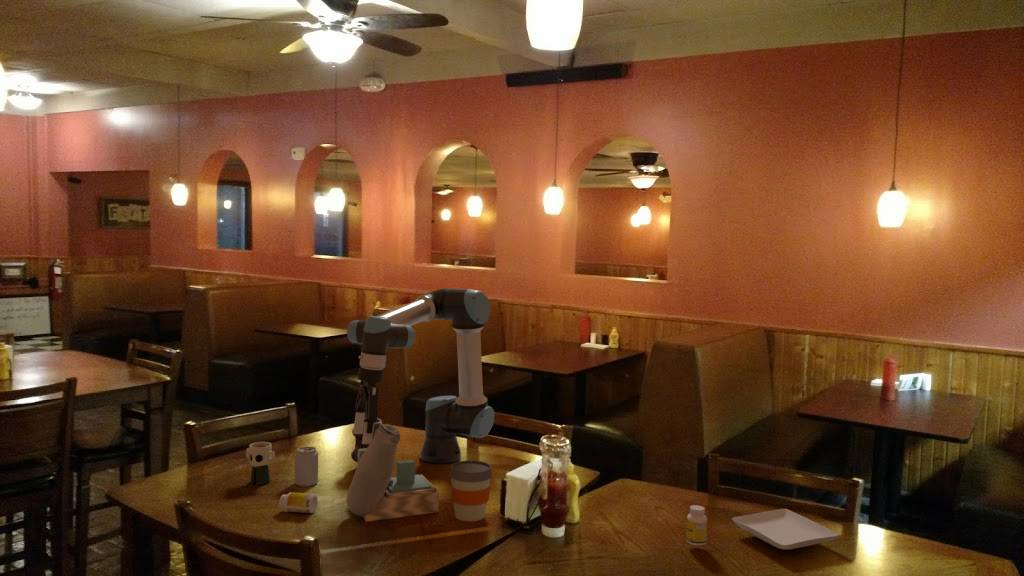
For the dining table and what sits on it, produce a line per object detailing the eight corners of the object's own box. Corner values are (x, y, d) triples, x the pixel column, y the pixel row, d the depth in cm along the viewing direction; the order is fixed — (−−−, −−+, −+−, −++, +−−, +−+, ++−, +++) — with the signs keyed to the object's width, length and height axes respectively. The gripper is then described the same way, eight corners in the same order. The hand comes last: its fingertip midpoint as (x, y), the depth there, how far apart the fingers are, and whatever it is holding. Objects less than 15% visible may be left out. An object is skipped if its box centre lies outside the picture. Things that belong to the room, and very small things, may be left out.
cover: (418, 479, 235) (419, 454, 235) (430, 491, 224) (430, 465, 224) (381, 483, 230) (381, 458, 230) (391, 495, 219) (391, 469, 219)
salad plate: (782, 556, 198) (783, 544, 198) (729, 527, 218) (729, 516, 218) (840, 545, 207) (841, 533, 207) (784, 518, 226) (785, 507, 226)
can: (321, 481, 249) (321, 446, 248) (313, 488, 242) (313, 452, 241) (299, 479, 250) (299, 444, 249) (291, 487, 242) (291, 451, 242)
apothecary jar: (391, 472, 260) (392, 421, 259) (359, 477, 254) (359, 426, 252) (377, 463, 270) (377, 414, 269) (345, 468, 264) (346, 418, 262)
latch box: (422, 494, 238) (422, 473, 238) (438, 512, 224) (438, 489, 223) (354, 503, 229) (354, 481, 229) (365, 521, 215) (365, 497, 214)
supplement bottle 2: (683, 538, 208) (684, 504, 208) (702, 538, 209) (703, 504, 208) (689, 546, 203) (691, 511, 202) (708, 545, 204) (710, 511, 203)
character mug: (239, 484, 244) (239, 445, 243) (253, 478, 251) (253, 440, 250) (267, 488, 241) (267, 449, 240) (280, 481, 247) (281, 443, 247)
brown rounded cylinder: (380, 515, 222) (413, 431, 218) (363, 525, 212) (397, 438, 209) (353, 499, 224) (385, 416, 221) (335, 509, 215) (368, 422, 211)
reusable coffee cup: (459, 526, 213) (460, 475, 212) (442, 511, 224) (443, 463, 223) (498, 519, 219) (499, 469, 218) (480, 505, 230) (481, 458, 229)
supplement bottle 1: (317, 490, 222) (284, 487, 223) (310, 501, 217) (276, 498, 218) (319, 505, 224) (286, 503, 225) (312, 517, 219) (279, 514, 220)
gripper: (351, 361, 232) (342, 428, 232) (368, 373, 209) (357, 448, 209) (374, 363, 235) (365, 430, 235) (393, 375, 212) (383, 449, 212)
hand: (362, 438), depth 222 cm, fingers open, 12 cm apart
